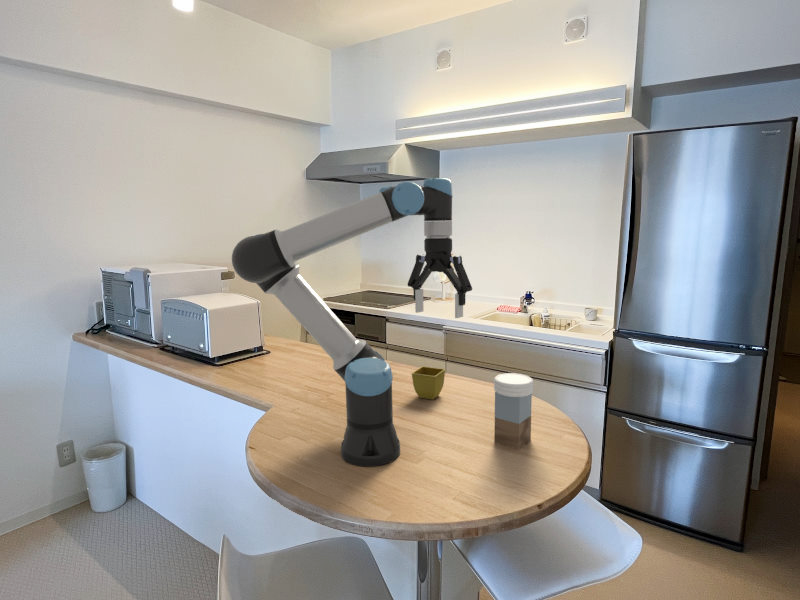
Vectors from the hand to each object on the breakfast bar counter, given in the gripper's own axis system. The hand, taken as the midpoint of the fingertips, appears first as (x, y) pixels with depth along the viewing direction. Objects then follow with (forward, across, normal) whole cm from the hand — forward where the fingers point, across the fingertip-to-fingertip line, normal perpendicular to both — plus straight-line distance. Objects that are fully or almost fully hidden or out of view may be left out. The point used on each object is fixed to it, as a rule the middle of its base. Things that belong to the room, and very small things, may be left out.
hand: (438, 314), depth 134 cm
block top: (+26, -21, -5) cm, 33 cm away
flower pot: (+33, +17, -17) cm, 41 cm away
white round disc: (+19, -21, -4) cm, 29 cm away
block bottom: (+33, -21, -4) cm, 39 cm away
